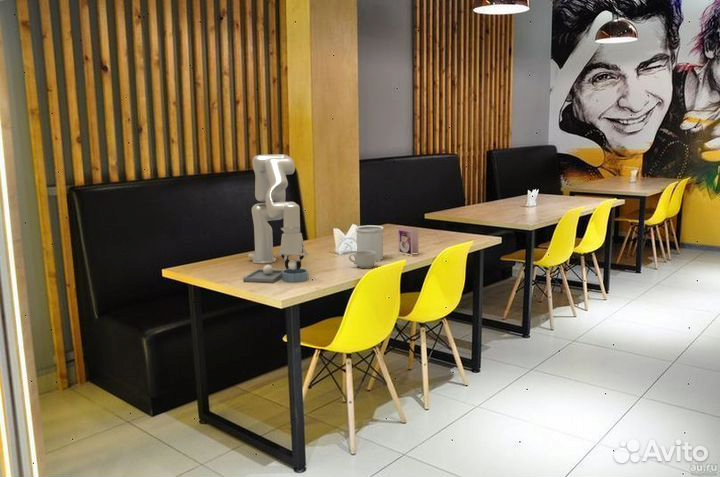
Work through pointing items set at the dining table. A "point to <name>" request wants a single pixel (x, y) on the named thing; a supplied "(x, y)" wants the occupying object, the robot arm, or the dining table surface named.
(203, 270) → the dining table surface
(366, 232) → the utensil holder
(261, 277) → the parts tray
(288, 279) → the bowl
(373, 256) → the teacup
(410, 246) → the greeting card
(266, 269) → the pebble
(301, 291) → the dining table surface
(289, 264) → the pebble
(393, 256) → the dining table surface
